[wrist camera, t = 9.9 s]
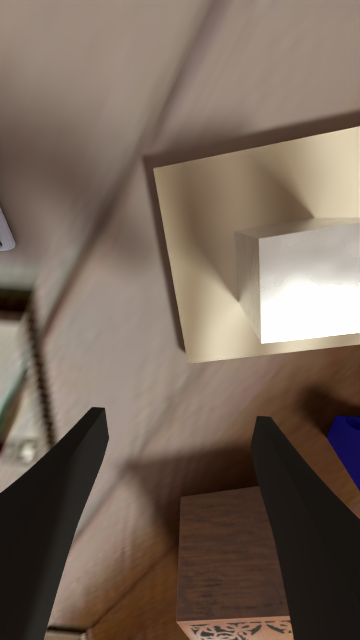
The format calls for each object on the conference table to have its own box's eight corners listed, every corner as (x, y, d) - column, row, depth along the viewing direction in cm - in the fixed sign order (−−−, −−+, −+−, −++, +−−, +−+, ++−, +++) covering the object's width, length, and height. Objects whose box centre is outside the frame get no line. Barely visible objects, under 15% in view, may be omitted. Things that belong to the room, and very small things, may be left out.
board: (188, 355, 20) (187, 363, 19) (155, 172, 15) (153, 168, 14) (357, 336, 19) (367, 343, 18) (390, 124, 14) (408, 116, 12)
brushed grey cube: (238, 302, 17) (261, 343, 12) (234, 230, 15) (258, 238, 10) (310, 293, 17) (369, 330, 11) (314, 217, 15) (389, 217, 9)
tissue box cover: (180, 494, 29) (176, 621, 20) (300, 477, 27) (356, 612, 18) (226, 587, 39) (237, 701, 30) (317, 580, 36) (359, 701, 27)
